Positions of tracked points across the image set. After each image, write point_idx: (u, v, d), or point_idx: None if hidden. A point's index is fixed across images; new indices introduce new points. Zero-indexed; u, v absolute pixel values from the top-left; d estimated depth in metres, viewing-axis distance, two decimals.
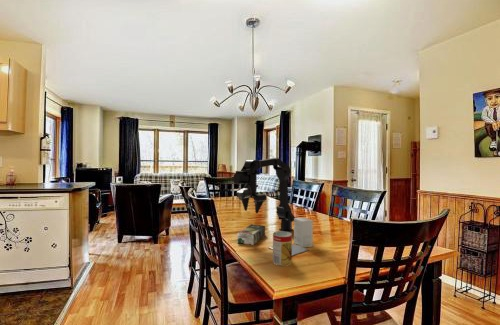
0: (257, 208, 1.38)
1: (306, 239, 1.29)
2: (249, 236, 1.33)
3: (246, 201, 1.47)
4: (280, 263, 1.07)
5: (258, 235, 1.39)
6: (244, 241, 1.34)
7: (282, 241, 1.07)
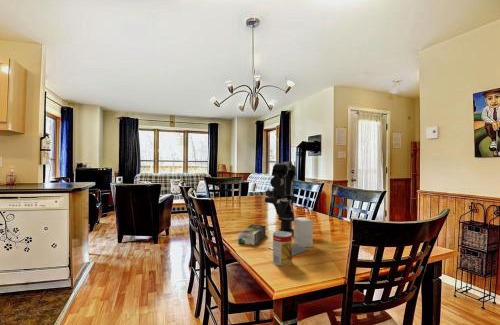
0: (276, 209, 1.44)
1: (306, 239, 1.29)
2: (250, 236, 1.33)
3: (283, 205, 1.46)
4: (280, 263, 1.07)
5: (259, 235, 1.39)
6: (245, 241, 1.34)
7: (283, 241, 1.07)
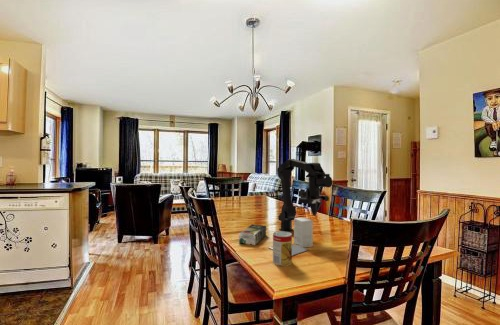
0: (312, 210, 1.40)
1: (306, 239, 1.29)
2: (251, 236, 1.33)
3: None
4: (280, 263, 1.07)
5: (259, 235, 1.39)
6: (246, 241, 1.34)
7: (282, 241, 1.07)
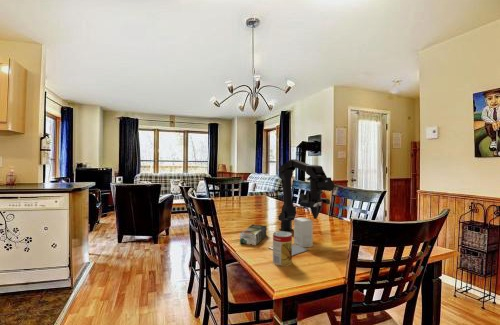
0: (313, 213, 1.39)
1: (306, 239, 1.29)
2: (251, 236, 1.33)
3: None
4: (280, 263, 1.07)
5: (260, 235, 1.39)
6: (246, 241, 1.34)
7: (282, 241, 1.07)
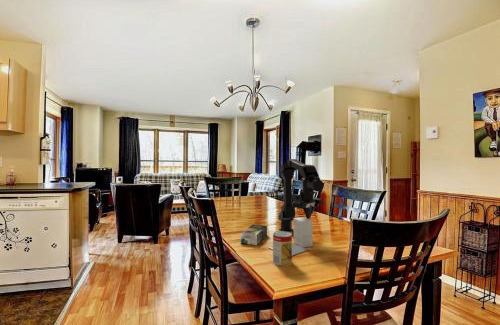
0: (306, 214, 1.35)
1: (306, 239, 1.29)
2: (252, 236, 1.33)
3: None
4: (280, 263, 1.07)
5: (261, 235, 1.39)
6: (247, 241, 1.34)
7: (282, 241, 1.06)
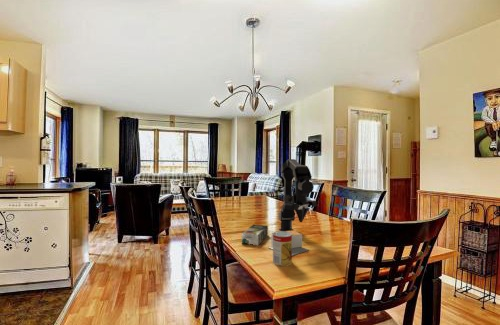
0: (298, 216, 1.32)
1: (295, 242, 1.27)
2: (254, 236, 1.33)
3: None
4: (280, 263, 1.07)
5: (262, 235, 1.39)
6: (248, 241, 1.34)
7: (283, 241, 1.07)
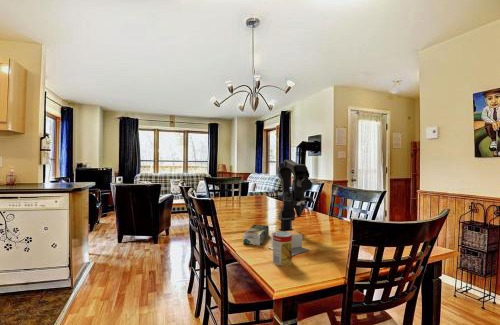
0: (296, 212, 1.40)
1: (295, 242, 1.27)
2: (255, 236, 1.33)
3: None
4: (280, 263, 1.07)
5: (263, 235, 1.39)
6: (250, 242, 1.34)
7: (283, 241, 1.07)
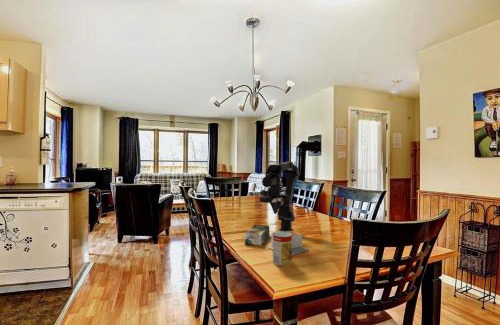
0: (273, 209, 1.47)
1: (295, 242, 1.27)
2: (257, 236, 1.33)
3: None
4: (280, 263, 1.07)
5: (264, 235, 1.39)
6: (251, 242, 1.33)
7: (282, 241, 1.06)
